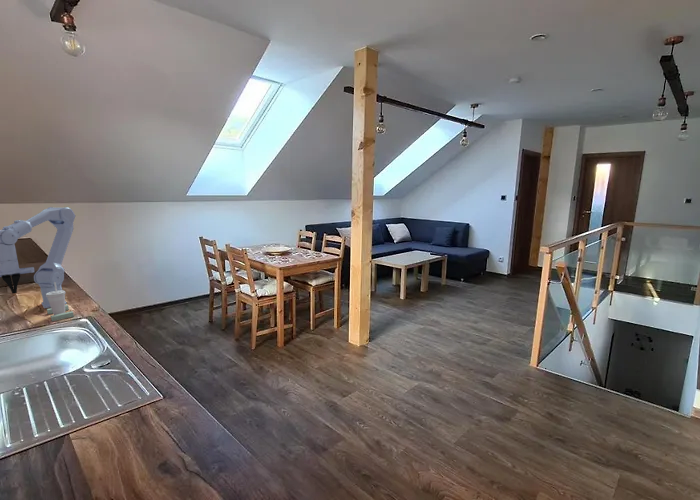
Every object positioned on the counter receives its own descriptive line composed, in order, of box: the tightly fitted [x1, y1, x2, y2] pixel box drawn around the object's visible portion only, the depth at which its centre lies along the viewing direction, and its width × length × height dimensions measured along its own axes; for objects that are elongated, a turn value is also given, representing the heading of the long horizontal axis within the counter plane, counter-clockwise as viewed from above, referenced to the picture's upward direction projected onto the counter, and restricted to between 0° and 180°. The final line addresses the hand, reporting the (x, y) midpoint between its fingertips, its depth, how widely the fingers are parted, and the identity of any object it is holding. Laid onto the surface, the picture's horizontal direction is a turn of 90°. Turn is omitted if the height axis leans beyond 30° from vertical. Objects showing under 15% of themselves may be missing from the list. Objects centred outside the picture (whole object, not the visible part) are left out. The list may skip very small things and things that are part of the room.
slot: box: [46, 304, 75, 322], centre depth 153 cm, size 13×7×2 cm, turn 45°
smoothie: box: [46, 282, 66, 315], centre depth 152 cm, size 6×6×14 cm
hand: (14, 292), depth 149 cm, fingers closed
